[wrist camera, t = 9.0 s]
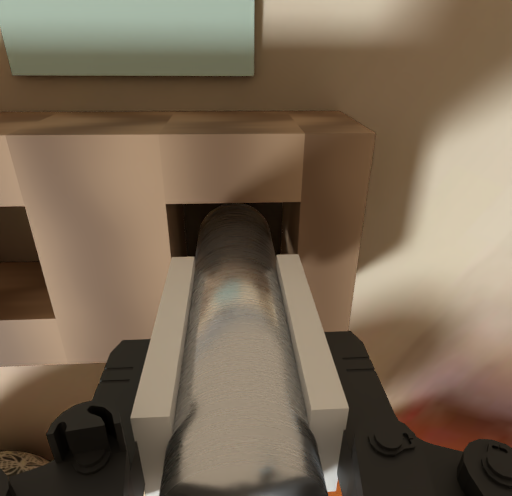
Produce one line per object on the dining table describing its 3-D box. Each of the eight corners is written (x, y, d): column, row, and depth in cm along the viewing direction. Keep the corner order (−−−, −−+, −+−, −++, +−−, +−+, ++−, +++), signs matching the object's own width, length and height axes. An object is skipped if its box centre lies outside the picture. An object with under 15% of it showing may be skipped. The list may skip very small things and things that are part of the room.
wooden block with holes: (340, 111, 18) (376, 133, 14) (322, 293, 23) (344, 353, 19) (-118, 112, 17) (-238, 136, 13) (-41, 303, 22) (-110, 370, 17)
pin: (271, 202, 17) (339, 458, 7) (269, 266, 19) (322, 559, 8) (196, 203, 17) (145, 468, 7) (200, 267, 19) (165, 569, 8)
